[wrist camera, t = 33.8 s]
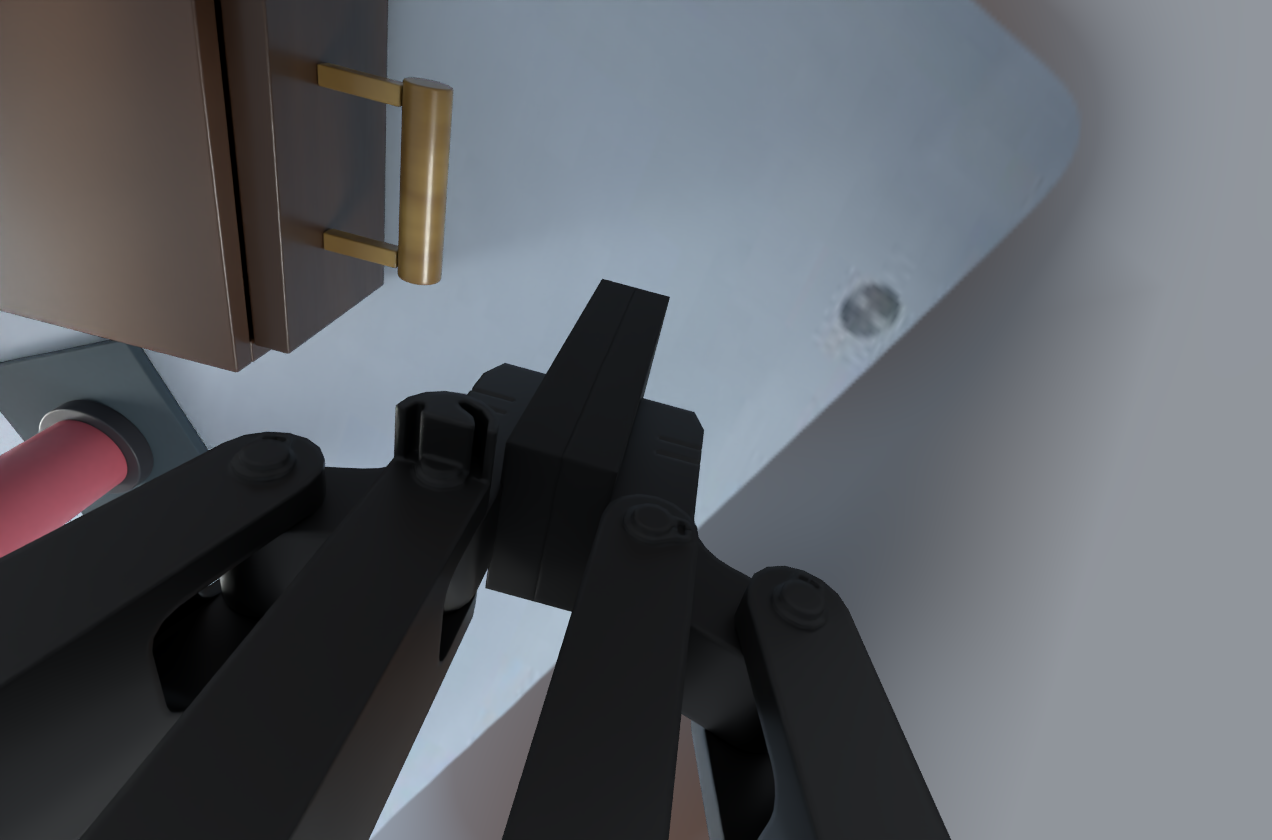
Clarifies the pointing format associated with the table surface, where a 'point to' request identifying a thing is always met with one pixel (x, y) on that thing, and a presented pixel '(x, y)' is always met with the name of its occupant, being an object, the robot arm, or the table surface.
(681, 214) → the table surface
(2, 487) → the ball-topped pink peg
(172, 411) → the mat
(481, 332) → the table surface
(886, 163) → the table surface
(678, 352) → the table surface
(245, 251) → the drawer
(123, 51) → the cabinet
